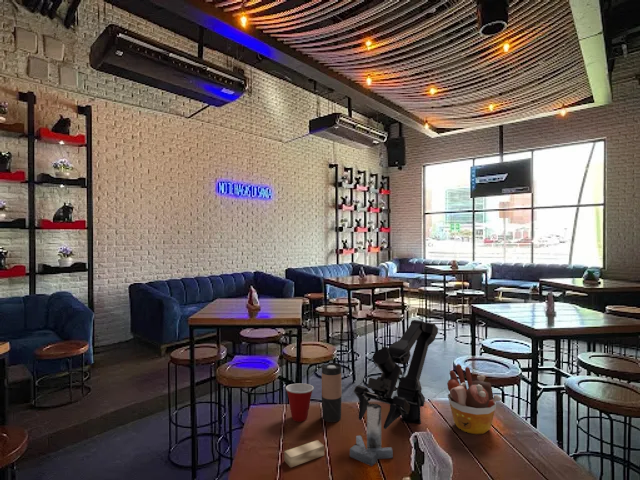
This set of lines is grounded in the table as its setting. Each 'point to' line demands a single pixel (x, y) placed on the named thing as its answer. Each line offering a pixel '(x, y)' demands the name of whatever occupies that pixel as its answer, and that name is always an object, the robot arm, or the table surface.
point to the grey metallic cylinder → (373, 426)
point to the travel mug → (331, 392)
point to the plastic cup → (299, 400)
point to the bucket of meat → (471, 402)
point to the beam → (304, 453)
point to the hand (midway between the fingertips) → (371, 424)
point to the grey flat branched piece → (369, 452)
